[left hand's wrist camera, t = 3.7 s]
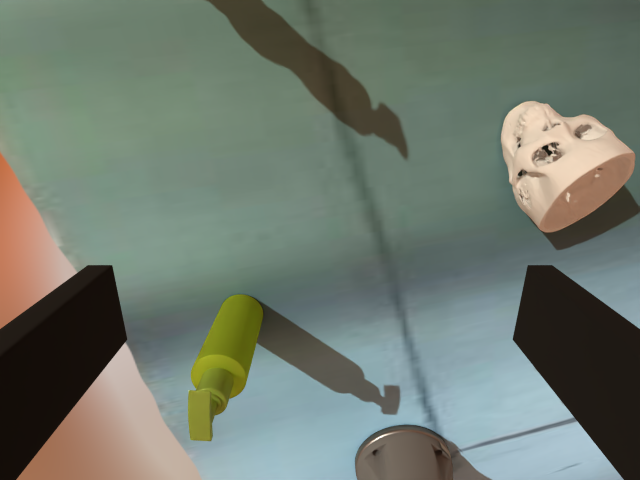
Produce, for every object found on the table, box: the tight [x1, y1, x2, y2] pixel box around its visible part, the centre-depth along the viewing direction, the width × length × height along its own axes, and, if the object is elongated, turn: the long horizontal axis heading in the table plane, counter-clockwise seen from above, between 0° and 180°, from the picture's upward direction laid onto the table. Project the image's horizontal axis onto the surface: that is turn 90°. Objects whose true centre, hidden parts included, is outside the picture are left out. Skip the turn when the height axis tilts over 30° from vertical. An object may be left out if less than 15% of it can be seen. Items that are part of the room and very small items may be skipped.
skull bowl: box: [501, 101, 635, 232], centre depth 43 cm, size 10×14×12 cm
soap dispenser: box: [188, 294, 263, 441], centre depth 44 cm, size 6×7×20 cm
